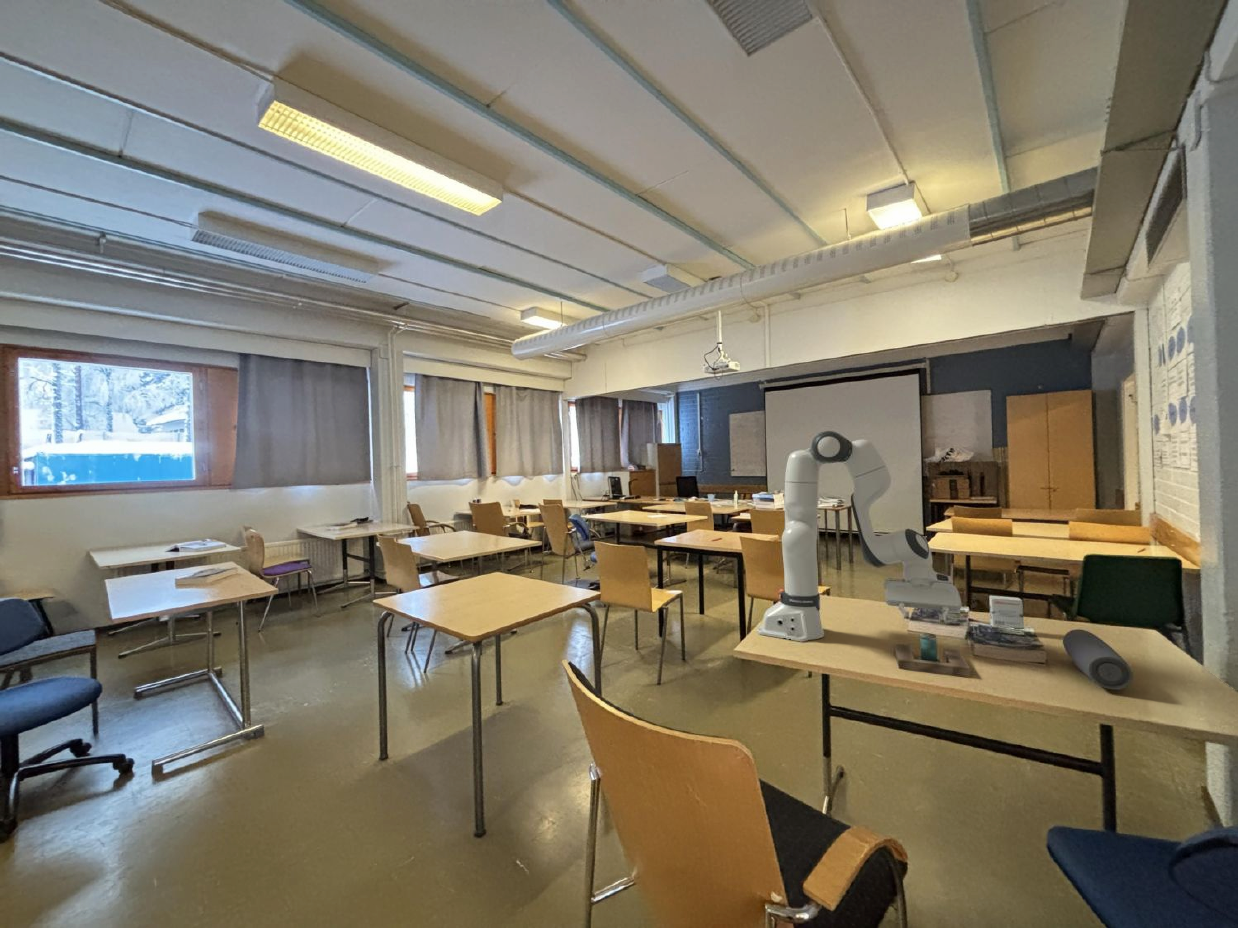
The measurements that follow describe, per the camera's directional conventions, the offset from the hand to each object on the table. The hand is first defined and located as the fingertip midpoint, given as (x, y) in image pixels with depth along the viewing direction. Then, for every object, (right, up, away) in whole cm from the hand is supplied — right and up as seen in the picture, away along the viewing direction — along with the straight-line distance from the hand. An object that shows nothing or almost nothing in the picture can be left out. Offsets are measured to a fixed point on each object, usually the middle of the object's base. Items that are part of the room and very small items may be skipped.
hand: (924, 619), depth 150 cm
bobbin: (-2, -11, -5) cm, 12 cm away
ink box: (+40, -10, +19) cm, 45 cm away
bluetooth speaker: (+36, -10, -17) cm, 41 cm away
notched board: (-2, -11, -6) cm, 13 cm away
